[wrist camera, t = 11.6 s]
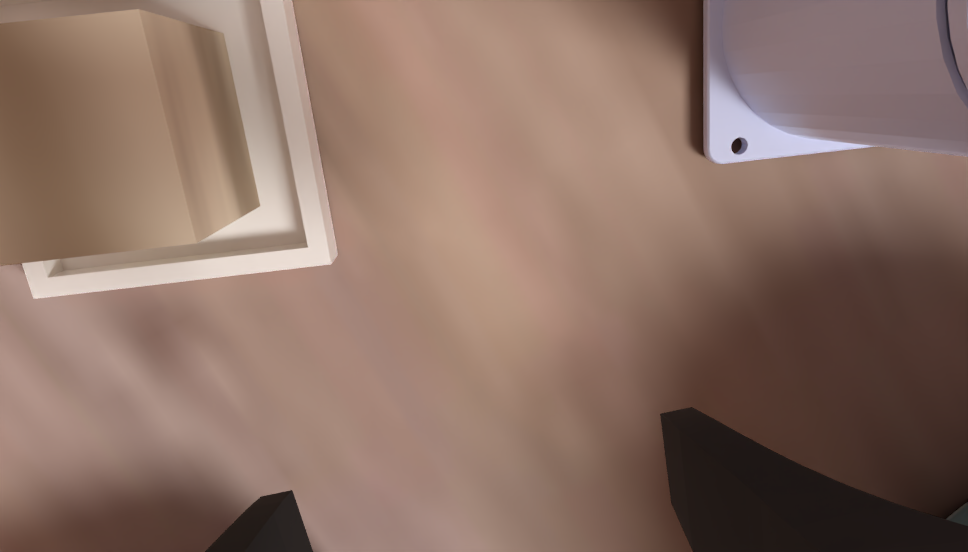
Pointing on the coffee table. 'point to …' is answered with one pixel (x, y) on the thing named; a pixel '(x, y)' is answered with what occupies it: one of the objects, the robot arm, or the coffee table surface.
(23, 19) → the sorting tray
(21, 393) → the coffee table surface
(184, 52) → the plain cube
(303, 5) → the coffee table surface
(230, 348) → the coffee table surface
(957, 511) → the teal round bowl
